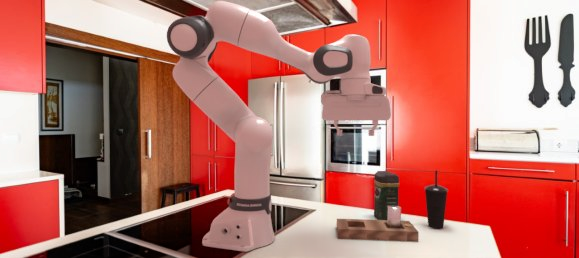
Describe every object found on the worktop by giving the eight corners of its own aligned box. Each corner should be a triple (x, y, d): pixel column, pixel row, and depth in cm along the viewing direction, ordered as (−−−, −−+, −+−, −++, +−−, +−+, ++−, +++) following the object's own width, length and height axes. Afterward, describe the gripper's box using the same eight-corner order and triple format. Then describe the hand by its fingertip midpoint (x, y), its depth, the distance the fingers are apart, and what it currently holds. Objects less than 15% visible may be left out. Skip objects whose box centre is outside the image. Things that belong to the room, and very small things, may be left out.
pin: (388, 236, 96) (389, 208, 95) (386, 231, 100) (386, 204, 99) (401, 237, 95) (402, 209, 95) (398, 232, 99) (399, 205, 99)
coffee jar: (402, 224, 110) (402, 173, 109) (381, 225, 109) (381, 174, 108) (390, 216, 120) (390, 169, 119) (371, 217, 119) (371, 169, 118)
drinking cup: (421, 222, 112) (422, 168, 112) (444, 223, 111) (444, 169, 110) (426, 229, 105) (427, 172, 104) (450, 231, 103) (451, 172, 102)
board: (338, 241, 94) (338, 228, 94) (336, 230, 104) (336, 217, 104) (418, 244, 92) (418, 230, 92) (409, 232, 102) (409, 220, 102)
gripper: (320, 89, 90) (320, 136, 90) (392, 88, 87) (391, 136, 88) (321, 91, 96) (321, 135, 96) (387, 90, 94) (387, 135, 94)
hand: (355, 135), depth 92 cm, fingers open, 8 cm apart
